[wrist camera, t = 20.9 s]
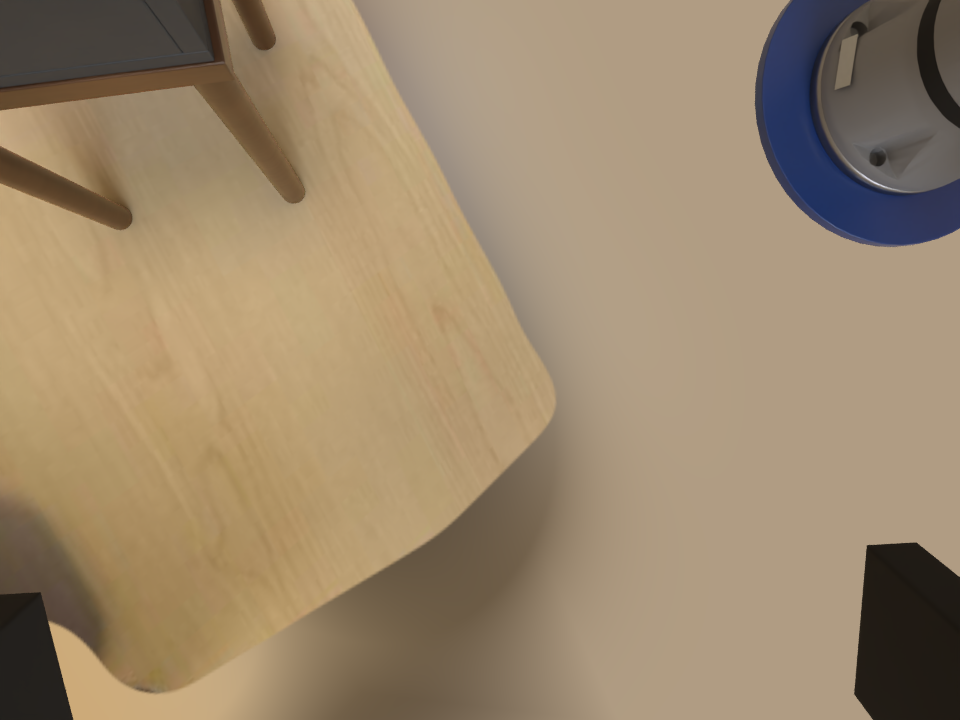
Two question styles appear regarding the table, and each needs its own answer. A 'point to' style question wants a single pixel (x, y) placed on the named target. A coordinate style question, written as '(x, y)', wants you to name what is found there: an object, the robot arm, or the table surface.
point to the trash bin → (98, 37)
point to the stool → (207, 78)
